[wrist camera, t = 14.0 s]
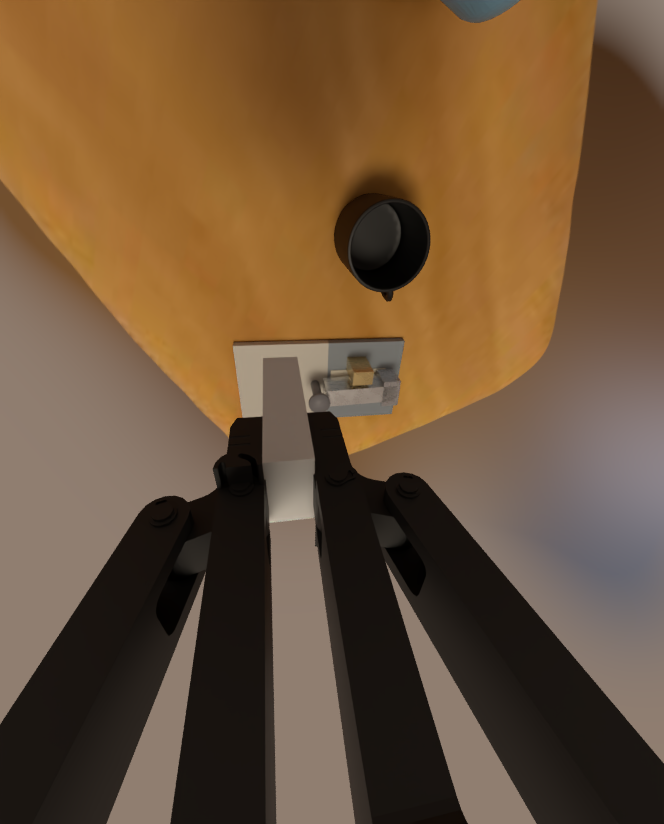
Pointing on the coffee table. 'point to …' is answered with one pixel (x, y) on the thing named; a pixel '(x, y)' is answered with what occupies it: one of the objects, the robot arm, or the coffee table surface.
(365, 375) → the block
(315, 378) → the door board
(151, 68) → the coffee table surface
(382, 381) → the bar
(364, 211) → the mug
